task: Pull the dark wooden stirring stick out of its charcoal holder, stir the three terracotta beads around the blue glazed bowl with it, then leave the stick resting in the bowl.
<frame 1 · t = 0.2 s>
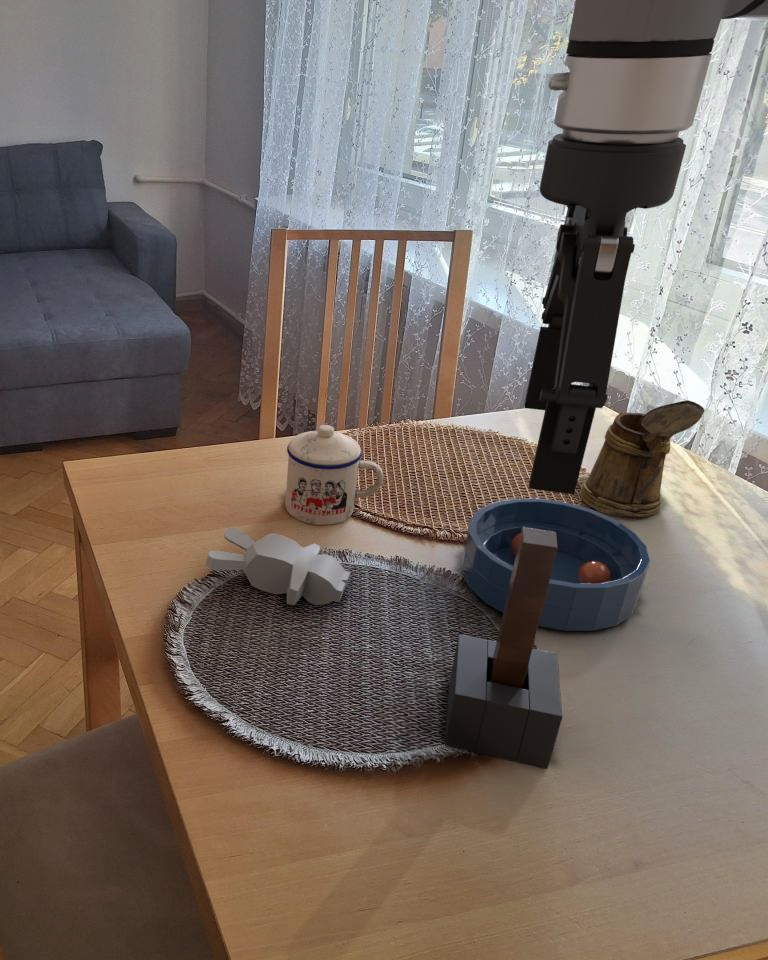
hand: (546, 445, 62), 29 cm above the table, tool pointing down, fingers open, 13 cm apart
bunny figurine: (277, 585, 97), on the table
bead c: (525, 546, 98), point 2 cm above the table, touching bowl
stick: (516, 636, 72), in the holder
teacup with lid: (330, 511, 111), on the table
holder: (495, 723, 77), on the table
bead b: (594, 575, 93), point 2 cm above the table, touching bowl
wooden mug: (624, 511, 108), on the table
bead a: (527, 584, 92), point 2 cm above the table, touching bowl
bowl: (544, 584, 95), on the table
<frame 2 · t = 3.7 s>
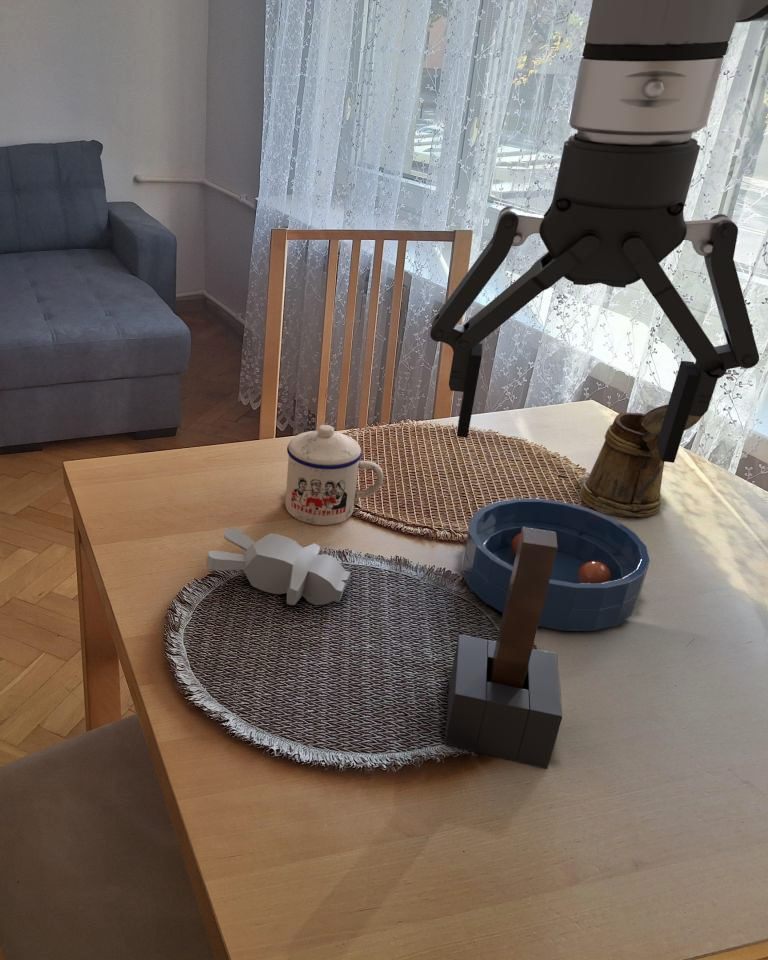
hand: (560, 441, 63), 28 cm above the table, tool pointing down, fingers open, 13 cm apart
nothing on the table moved.
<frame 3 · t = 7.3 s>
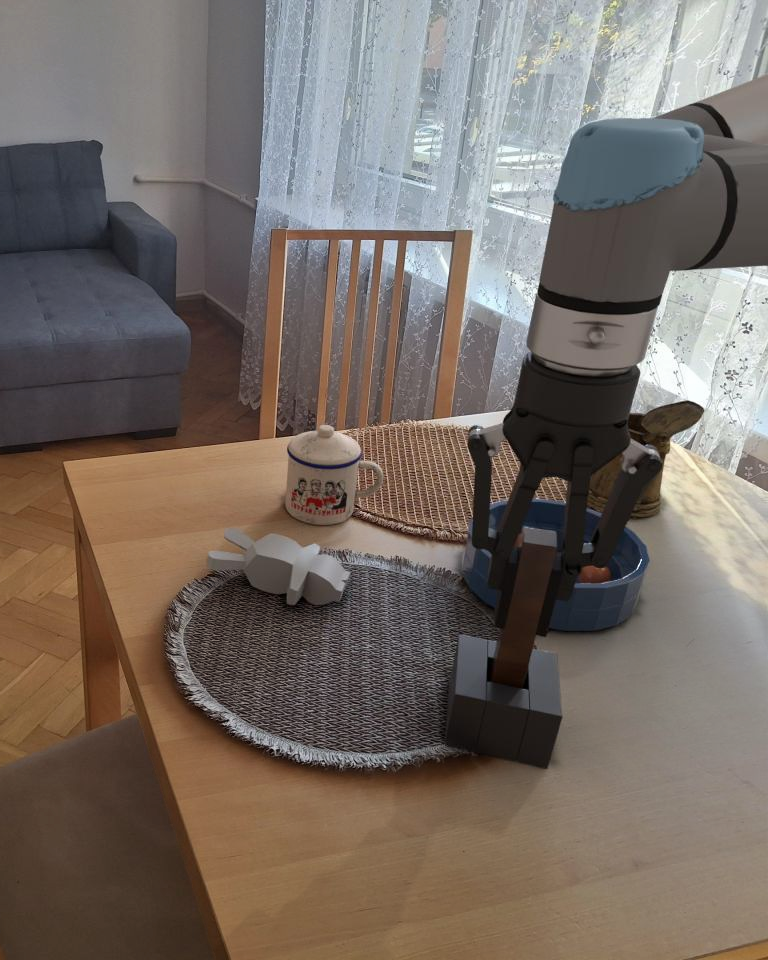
hand: (519, 622, 72), 12 cm above the table, tool pointing down, fingers closed on stick, 2 cm apart
stick: (516, 636, 72), in the holder, touching gripper
everything else where it was.
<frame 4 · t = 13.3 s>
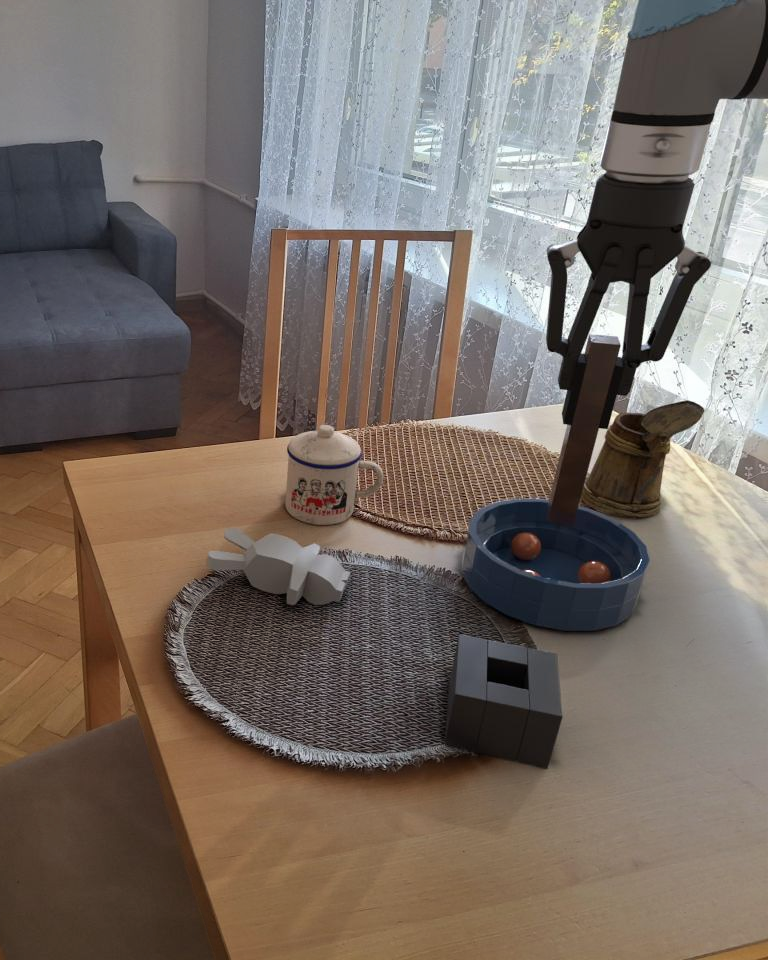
hand: (584, 420, 86), 20 cm above the table, tool pointing down, fingers closed on stick, 2 cm apart
stick: (580, 434, 86), point 19 cm above the table, touching gripper
everything else where it was.
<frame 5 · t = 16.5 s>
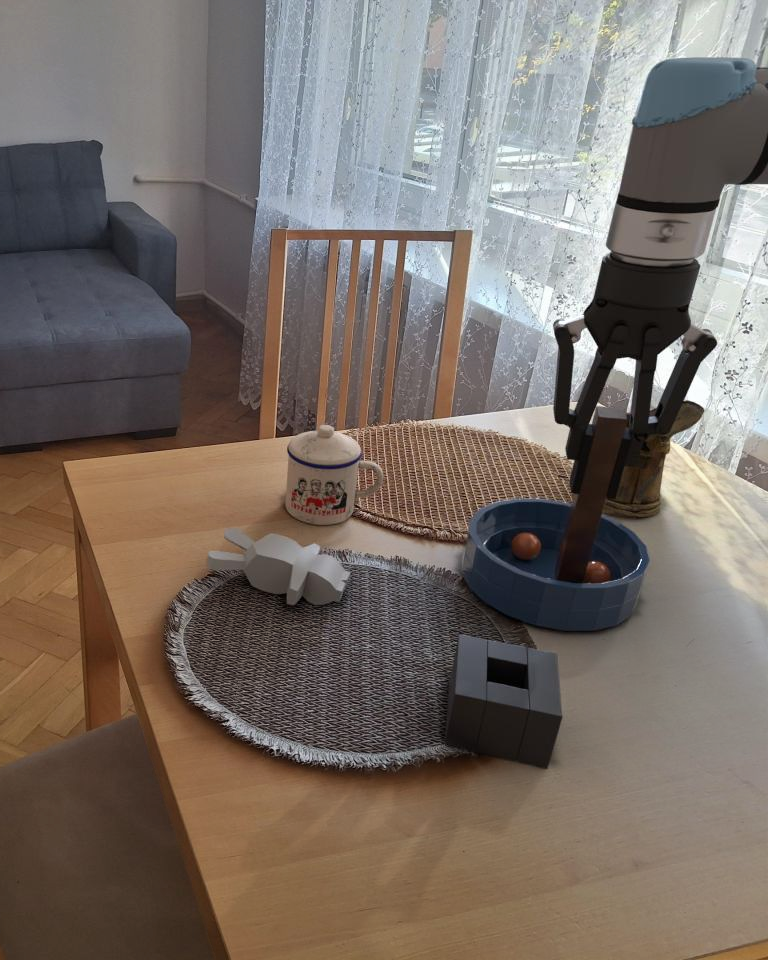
hand: (592, 489, 86), 14 cm above the table, tool pointing down, fingers closed on stick, 2 cm apart
stick: (588, 501, 87), point 12 cm above the table, touching gripper
bead a: (541, 592, 90), point 2 cm above the table, tilted 26°, touching bowl
everything else where it was.
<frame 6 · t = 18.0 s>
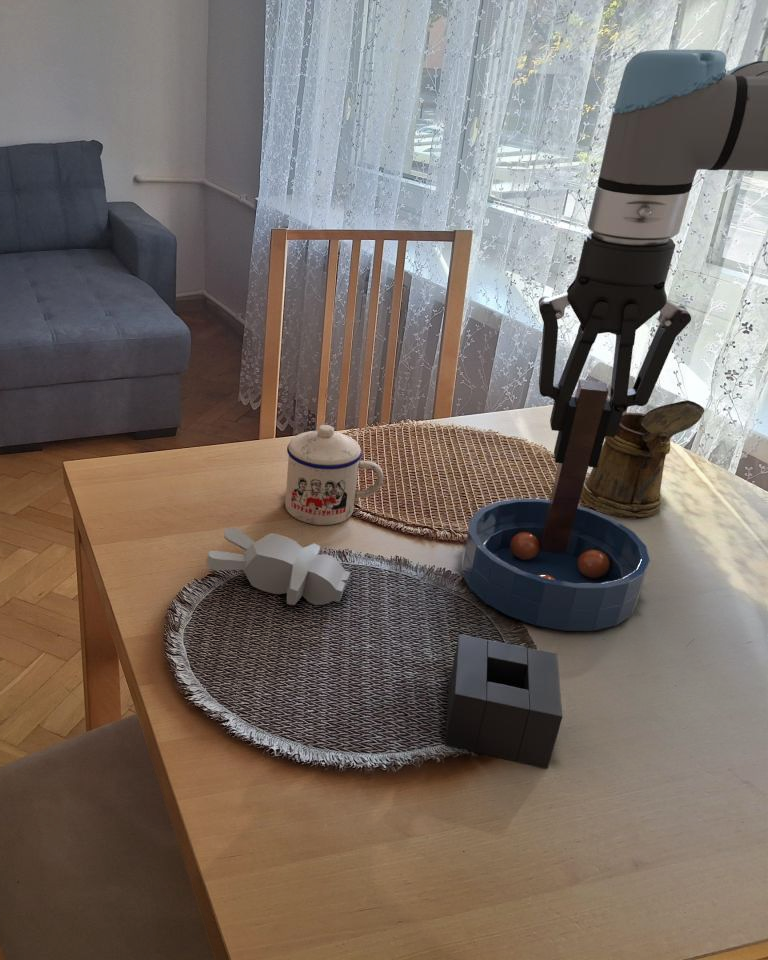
hand: (574, 459, 91), 14 cm above the table, tool pointing down, fingers closed on stick, 2 cm apart
stick: (571, 470, 92), point 13 cm above the table, touching gripper
bead b: (593, 564, 95), point 2 cm above the table, tilted 21°, touching bowl
bead a: (543, 589, 91), point 2 cm above the table, touching bowl
everything else where it was.
when the fingers open (12 cm above the table, at t = 19.8 s): stick stays where it is, resting on bowl.
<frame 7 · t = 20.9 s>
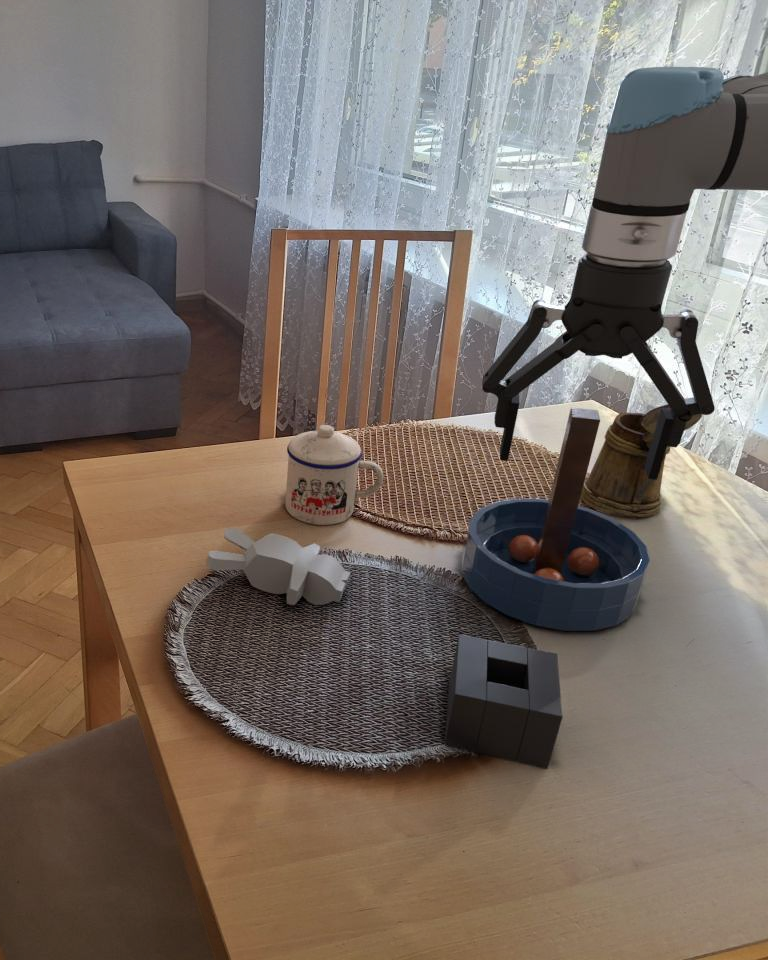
hand: (575, 464, 88), 15 cm above the table, tool pointing down, fingers open, 13 cm apart
bead c: (523, 548, 98), point 2 cm above the table, tilted 23°, touching bowl
stick: (564, 499, 91), in the bowl, point 11 cm above the table
bead b: (583, 561, 95), point 2 cm above the table, tilted 16°, touching bowl
bead a: (547, 582, 92), point 2 cm above the table, tilted 55°, touching bowl
everything else where it was.
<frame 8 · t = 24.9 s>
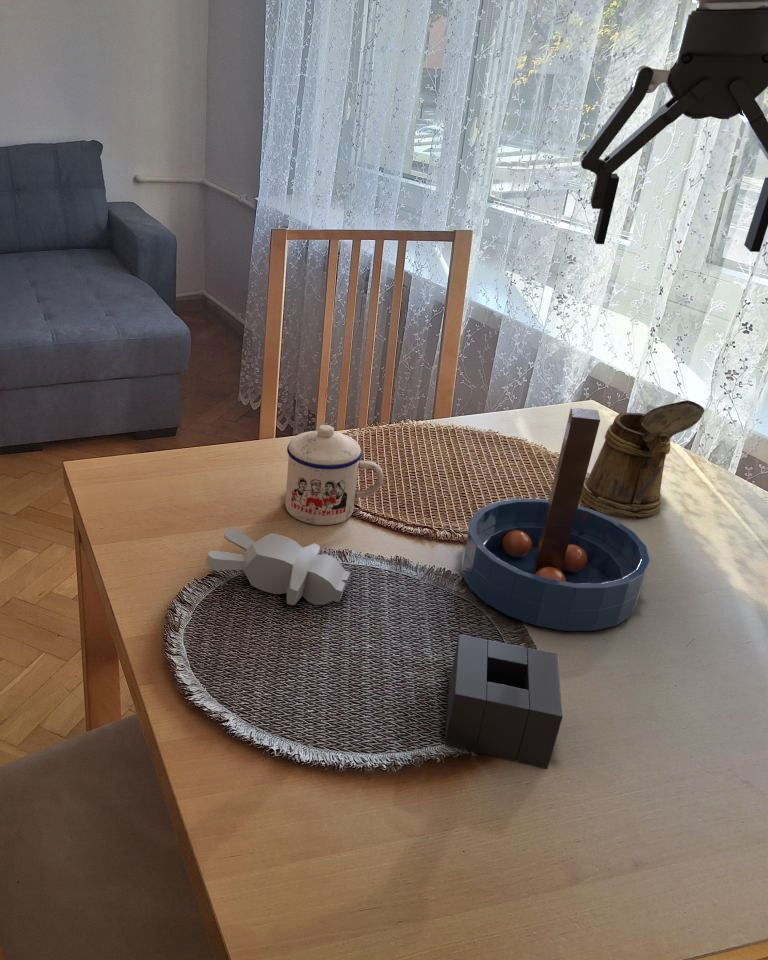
hand: (673, 245, 87), 35 cm above the table, tool pointing down, fingers open, 13 cm apart
bead c: (516, 544, 98), point 2 cm above the table, tilted 34°, touching bowl
bead b: (571, 558, 96), point 2 cm above the table, tilted 59°, touching bowl
bead a: (549, 581, 92), point 2 cm above the table, tilted 67°, touching bowl
everything else where it was.
at the end: bead b moved 3.5 cm from its start; stick inside the target area in the bowl (0.6 cm from its centre), point 10.6 cm above the bowl's base; the gripper is holding nothing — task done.
